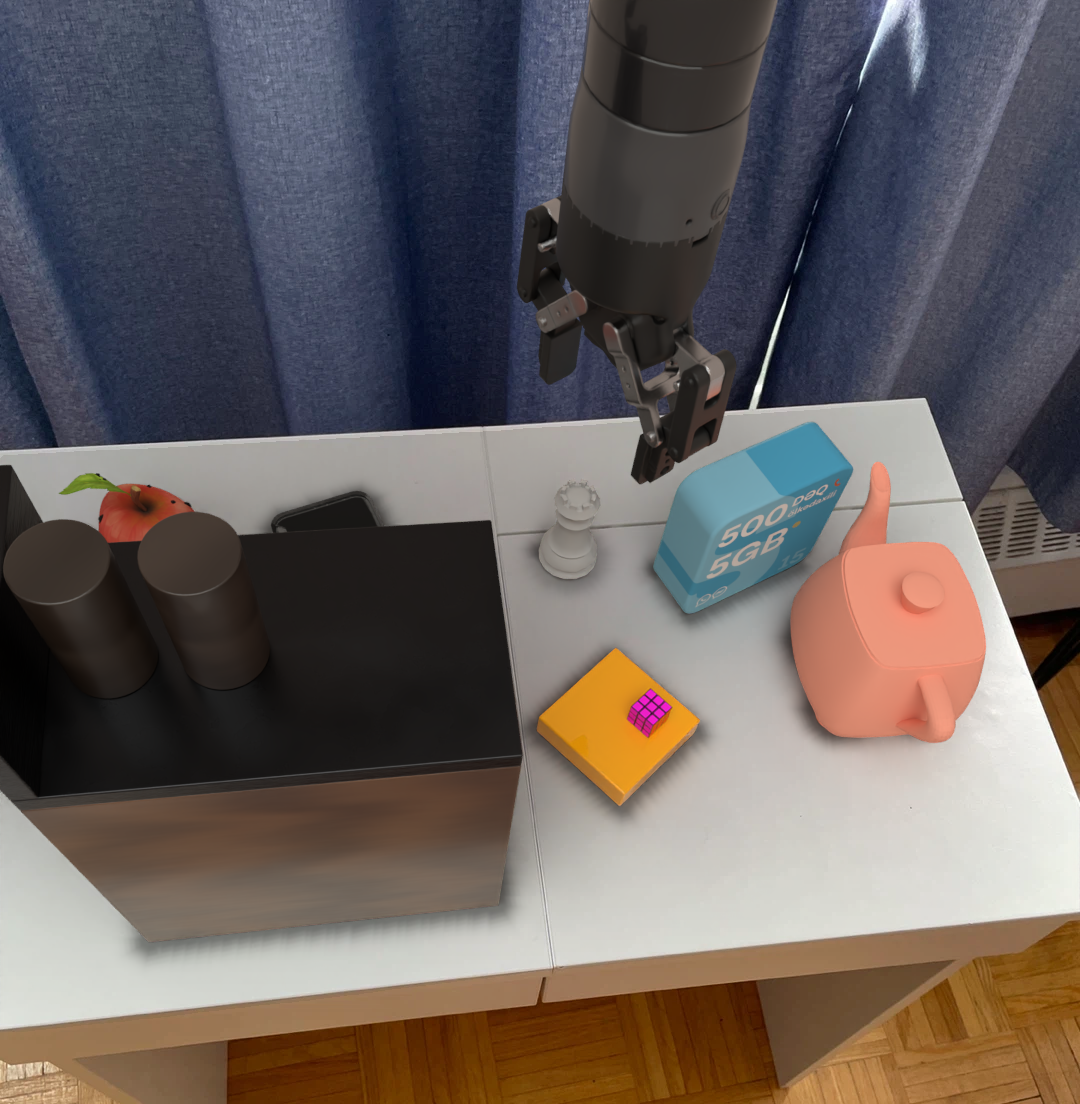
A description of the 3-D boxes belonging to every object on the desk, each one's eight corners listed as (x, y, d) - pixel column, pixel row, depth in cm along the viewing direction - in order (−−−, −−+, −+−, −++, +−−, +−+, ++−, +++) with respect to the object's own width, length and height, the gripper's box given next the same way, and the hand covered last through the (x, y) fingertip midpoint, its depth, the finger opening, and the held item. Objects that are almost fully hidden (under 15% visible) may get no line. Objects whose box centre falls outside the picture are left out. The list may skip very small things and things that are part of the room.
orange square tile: (619, 807, 74) (629, 783, 70) (535, 730, 76) (540, 703, 72) (694, 733, 77) (707, 706, 73) (611, 661, 79) (620, 632, 75)
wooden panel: (148, 942, 68) (19, 811, 47) (152, 752, 73) (38, 560, 53) (498, 905, 71) (521, 766, 50) (477, 725, 76) (490, 533, 55)
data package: (680, 621, 81) (716, 525, 70) (648, 575, 83) (679, 475, 72) (808, 560, 84) (861, 460, 74) (774, 517, 86) (822, 413, 75)
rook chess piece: (606, 551, 83) (622, 486, 76) (578, 592, 81) (591, 529, 74) (556, 524, 84) (567, 457, 77) (526, 564, 82) (534, 500, 75)
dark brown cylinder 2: (162, 663, 49) (115, 565, 42) (216, 600, 51) (179, 495, 44) (235, 705, 49) (199, 612, 42) (287, 639, 50) (262, 539, 43)
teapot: (972, 783, 77) (1058, 709, 66) (813, 799, 76) (874, 726, 65) (895, 549, 86) (961, 449, 75) (751, 559, 84) (796, 459, 73)
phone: (334, 683, 75) (266, 516, 81) (336, 690, 76) (268, 525, 82) (441, 647, 77) (367, 486, 83) (441, 654, 78) (368, 495, 84)
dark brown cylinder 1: (47, 672, 49) (-21, 573, 42) (106, 607, 50) (50, 502, 43) (119, 714, 48) (63, 622, 41) (176, 647, 50) (131, 547, 43)
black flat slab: (19, 811, 47) (-48, 742, 41) (38, 560, 53) (-19, 465, 46) (521, 766, 50) (533, 696, 43) (490, 533, 55) (496, 439, 49)
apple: (187, 513, 82) (156, 423, 73) (226, 580, 80) (199, 496, 71) (88, 554, 80) (43, 466, 71) (125, 624, 77) (84, 543, 68)
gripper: (485, 111, 49) (476, 371, 63) (688, 310, 44) (628, 540, 59) (615, 57, 51) (577, 320, 66) (820, 241, 47) (731, 479, 61)
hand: (601, 424), depth 62 cm, fingers open, 8 cm apart
